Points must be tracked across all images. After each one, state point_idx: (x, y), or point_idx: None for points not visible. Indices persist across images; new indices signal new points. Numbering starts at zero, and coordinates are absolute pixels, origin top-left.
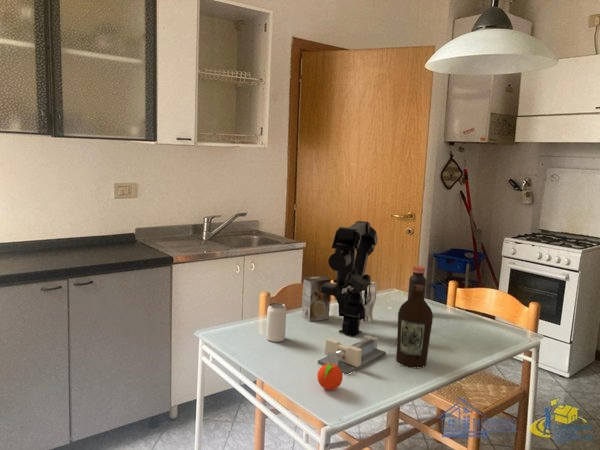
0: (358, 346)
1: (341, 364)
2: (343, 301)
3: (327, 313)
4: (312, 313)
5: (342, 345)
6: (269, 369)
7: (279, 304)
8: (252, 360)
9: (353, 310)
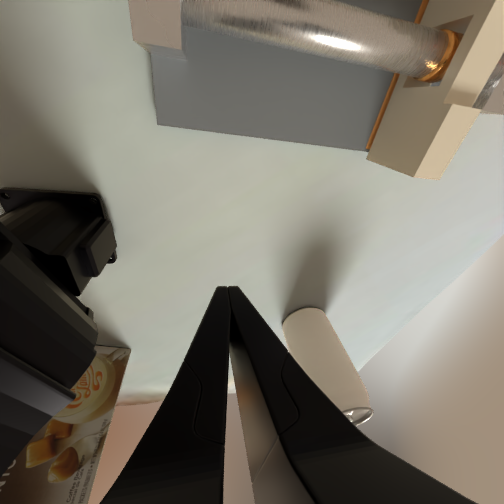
0: (347, 5)
1: None
2: (297, 365)
3: None
4: (113, 372)
5: (472, 68)
6: (478, 231)
7: None
8: (435, 280)
9: (28, 280)
